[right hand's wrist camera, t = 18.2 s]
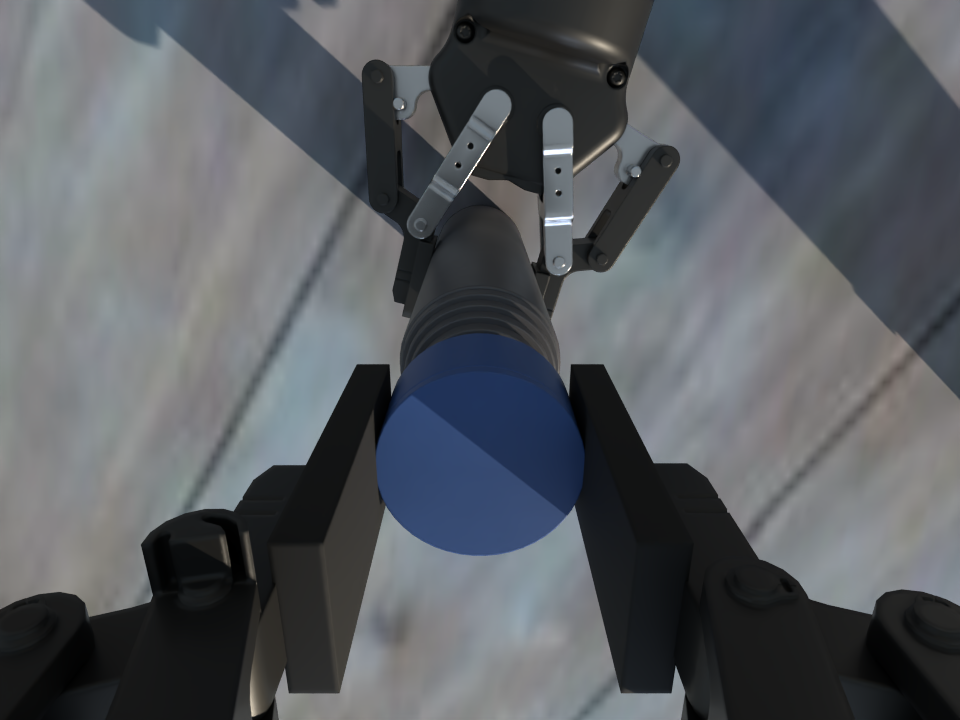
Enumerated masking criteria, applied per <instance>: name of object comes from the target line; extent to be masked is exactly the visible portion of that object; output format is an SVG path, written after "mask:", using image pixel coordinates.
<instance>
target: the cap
mask: <svg viewBox="0 0 960 720" xmlns="http://www.w3.org/2000/svg"><path fill="white" fill-rule="evenodd" d="M584 458H585V448H584V444H583V439H582V436H581V433H580V430H579V427H578V424H577V421H576V418H575V415H574V411H573V408H572V405H571V402H570V399H569V396H568V393H567V390H566V388H565V385H564V383H563V381H562V379H561V377H560V376H559V374H558V372H557V371H556V370H555V368H554V367H553V366H552V364H551V363H550V362H549V361H548V360H547V359H546V358H545V357H544V356H542V355H541V354H540V353H538V352H537V351H536V350H534V349H533V348H531V347H529V346H528V345H526V344H524V343H522V342H519V341H517V340H515V339H512V338H508V337H505V336H501V335H495V334H483V333H474V334H465V335H460V336H456V337H451V338H449V339H446V340H443V341H441V342H438V343H436V344H435V345H433V346H431V347H429V348H427V349H426V350H425V351H423V352H422V353H421V354H419V355H418V356H417V357H416V358H415V359H414V360H413V361H412V362H411V363H410V364H409V365H408V366H407V367H406V369H405V370H404V371H403V373H402V374H401V376H400V378H399V379H398V381H397V383H396V386H395V388H394V391H393V394H392V397H391V400H390V403H389V406H388V409H387V412H386V415H385V418H384V421H383V425H382V428H381V431H380V434H379V437H378V441H377V445H376V467H377V481H378V489H379V491H380V494H381V497H382V499H383V501H384V502H385V504H386V506H387V508H388V509H389V511H390V512H391V514H392V515H393V516H394V518H395V519H396V520H397V521H398V522H399V523H400V524H401V525H402V526H403V527H404V528H405V529H406V530H408V531H409V532H410V533H411V534H412V535H414V536H416V537H417V538H419V539H420V540H422V541H424V542H426V543H428V544H430V545H432V546H434V547H436V548H439V549H442V550H445V551H448V552H453V553H457V554H463V555H471V556H488V555H498V554H503V553H508V552H512V551H515V550H518V549H521V548H524V547H526V546H528V545H531V544H533V543H535V542H537V541H538V540H540V539H542V538H543V537H545V536H546V535H548V534H549V533H550V532H551V531H553V530H554V529H555V528H556V527H557V526H558V525H559V524H560V523H561V522H562V521H563V520H564V519H565V518H566V517H567V515H568V514H569V513H570V511H571V510H572V508H573V507H574V505H575V503H576V501H577V499H578V497H579V495H580V492H581V490H582V486H583V473H584Z"/></svg>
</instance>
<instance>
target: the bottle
mask: <svg viewBox="0 0 960 720" xmlns="http://www.w3.org/2000/svg"><path fill="white" fill-rule="evenodd" d="M474 333H483V334H495V335H501V336H505V337H508V338H512V339H515V340H517V341H519V342H522V343H524V344H526V345H528V346H529V347H531V348H533V349H534V350H536V351H537V352H538V353H540V354H541V355H542V356H544V357H545V358H546V359H547V360H548V361H549V362H550V363H551V364H552V366H553V367H554V368H555V370H556V371H557V372H558V374H559V372H560V350H559V344H558V340H557V337H556V334H555V331H554V328H553V326H552V323H551V320H550V317H549V314H548V312H547V309H546V306H545V303H544V300H543V297H542V295H541V292H540V289H539V286H538V283H537V281H536V278H535V275H534V272H533V269H532V266H531V264H530V261H529V258H528V255H527V252H526V250H525V247H524V244H523V241H522V238H521V236H520V233H519V230H518V228H517V226H516V225H515V223H514V222H513V221H512V220H511V218H510V217H508V216H507V215H506V214H505V213H503V212H502V211H500V210H498V209H496V208H493V207H489V206H482V205H478V206H471V207H467V208H464V209H462V210H460V211H458V212H457V213H455V214H454V215H453V216H452V217H451V218H450V219H449V220H448V221H447V222H446V224H445V225H444V227H443V229H442V231H441V233H440V236H439V239H438V242H437V244H436V247H435V250H434V253H433V256H432V258H431V261H430V264H429V267H428V270H427V273H426V275H425V278H424V281H423V284H422V287H421V289H420V292H419V295H418V298H417V301H416V304H415V306H414V309H413V312H412V315H411V318H410V320H409V323H408V326H407V329H406V332H405V335H404V338H403V341H402V345H401V351H400V371H401V374H402V373H403V371H404V370H405V369H406V367H407V366H408V365H409V364H410V363H411V362H412V361H413V360H414V359H415V358H416V357H417V356H418V355H419V354H421V353H422V352H423V351H425V350H426V349H427V348H429V347H431V346H433V345H435V344H436V343H438V342H441V341H443V340H446V339H449V338H451V337H456V336H460V335H465V334H474Z"/></svg>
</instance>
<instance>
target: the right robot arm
mask: <svg viewBox="0 0 960 720" xmlns="http://www.w3.org/2000/svg"><path fill="white" fill-rule="evenodd" d="M569 399H570V402H571V405H572V408H573V411H574V415H575V418H576V421H577V424H578V427H579V430H580V433H581V436H582V439H583V444H584V448H585V458H584V473H583V486H582V490H581V492H580V495H579V497H578V499H577V501H576V503H575V508H576V512H577V516H578V520H579V524H580V529H581V533H582V537H583V541H584V545H585V549H586V553H587V557H588V561H589V565H590V569H591V573H592V577H593V581H594V585H595V590H596V594H597V598H598V602H599V606H600V610H601V614H602V618H603V622H604V626H605V630H606V634H607V638H608V642H609V646H610V651H611V655H612V659H613V663H614V667H615V671H616V675H617V679H618V683H619V687H620V691H621V693H672V686H673V679H674V673H675V666H676V667H677V670H678V673H679V675H680V678H681V681H682V684H683V687H684V689H685V698H684V705H683V711H682V717H681V720H960V606H958V605H956V604H954V603H952V602H950V601H948V600H947V599H944V598H941V597H938V596H934V595H931V594H928V593H925V592H920V591H911V590H896V591H891V592H885V593H884V594H883V595H882V596H881V597H880V598H879V599H878V600H876V604H875V607H874V611H873V614H872V615H871V614H866V613H862V612H858V611H853V610H849V609H844V608H840V607H835V606H831V605H827V604H823V603H820V602H816V601H813V600H810V599H809V598H808V596H807V594H806V592H805V591H804V589H803V588H802V586H801V585H800V583H799V582H798V581H797V580H796V579H794V578H793V577H792V576H791V575H789V574H788V573H787V572H786V571H784V570H783V569H781V568H779V567H777V566H775V565H772V564H770V563H768V562H766V561H763V560H759V559H758V557H757V555H756V554H755V552H754V551H753V549H752V548H751V546H750V544H749V543H748V541H747V540H746V538H745V537H744V535H743V533H742V532H741V530H740V529H739V527H738V526H737V524H736V522H735V521H734V519H733V518H732V516H731V515H730V513H727V508H726V507H725V505H724V504H723V502H722V501H721V499H720V498H718V494H717V493H716V491H715V490H714V488H713V486H712V485H711V483H710V482H709V480H708V479H707V478H706V477H705V476H704V475H702V474H701V473H700V472H698V471H697V470H695V469H694V468H693V467H691V466H690V465H688V464H687V463H653V461H652V459H651V457H650V455H649V453H648V451H647V449H646V447H645V445H644V444H643V442H642V440H641V438H640V436H639V434H638V432H637V430H636V428H635V426H634V424H633V422H632V420H631V418H630V416H629V414H628V412H627V410H626V408H625V406H624V404H623V402H622V400H621V398H620V396H619V394H618V392H617V390H616V388H615V386H614V384H613V382H612V380H611V378H610V376H609V374H608V372H607V370H606V369H605V367H604V365H603V364H571V373H570V390H569ZM390 400H391V383H390V365H389V364H357V365H356V367H355V369H354V371H353V373H352V375H351V377H350V379H349V381H348V383H347V385H346V387H345V389H344V391H343V393H342V395H341V397H340V399H339V401H338V403H337V405H336V407H335V409H334V411H333V413H332V415H331V417H330V419H329V421H328V423H327V425H326V427H325V429H324V431H323V433H322V434H321V436H320V438H319V440H318V442H317V444H316V446H315V448H314V450H313V452H312V454H311V456H310V458H309V460H308V462H307V464H306V465H273V466H272V467H271V468H269V469H268V470H267V471H265V472H264V473H262V474H261V475H260V476H258V477H257V478H256V479H254V480H253V482H252V483H251V485H250V486H249V488H248V490H247V491H246V493H245V494H244V496H243V500H241V501H240V502H239V504H238V505H237V507H236V509H235V510H234V512H233V511H229V510H226V509H203V510H199V511H194V512H189V513H185V514H183V515H180V516H178V517H175V518H173V519H171V520H168V521H166V522H165V523H163V524H162V525H160V526H159V527H157V528H156V529H154V530H153V531H152V532H150V534H149V535H148V536H147V537H146V539H145V540H144V541H143V543H142V544H141V547H142V551H143V555H144V560H145V564H146V568H147V572H148V576H149V581H150V585H151V589H152V593H153V597H152V599H151V602H149V603H146V604H142V605H139V606H136V607H132V608H128V609H123V610H119V611H114V612H110V613H105V614H101V615H96V616H92V617H89V616H88V612H87V609H86V605H85V603H84V602H83V601H82V600H81V599H80V598H79V597H77V596H76V595H73V594H68V593H62V592H55V593H46V594H38V595H35V596H32V597H29V598H25V599H22V600H19V601H16V602H14V603H12V604H10V605H8V606H6V607H4V608H2V609H0V720H279V718H278V711H277V705H276V698H275V694H276V691H277V688H278V685H279V682H280V680H281V677H282V674H283V671H284V668H285V670H286V677H287V683H288V690H289V693H340V689H341V685H342V681H343V677H344V673H345V668H346V664H347V660H348V656H349V652H350V648H351V644H352V640H353V636H354V632H355V628H356V624H357V620H358V616H359V611H360V607H361V603H362V599H363V595H364V591H365V587H366V583H367V579H368V575H369V571H370V567H371V563H372V559H373V555H374V550H375V546H376V542H377V538H378V534H379V530H380V526H381V522H382V518H383V514H384V510H385V506H386V504H385V502H384V501H383V499H382V497H381V494H380V491H379V489H378V481H377V467H376V445H377V441H378V437H379V434H380V431H381V428H382V425H383V421H384V418H385V415H386V412H387V409H388V406H389V403H390Z"/></svg>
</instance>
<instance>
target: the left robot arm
mask: <svg viewBox="0 0 960 720" xmlns="http://www.w3.org/2000/svg"><path fill="white" fill-rule="evenodd" d="M653 2H654V0H458V2H457V6H456V11H455V15H454V20H453V24H452V29H451V32H450V35H449V38H448V40H447V42H446V44H445V45H444V47H443V48H442V50H441V51H440V52H439V53H438V54H437V55H436V56H435V58H434V59H433V61H432V63H431V65H430V66H391V65H388V64H386V63H385V62H383V61H381V60H371V61H369V62H368V63H367V64H366V65H365V66H364V68H363V70H362V87H363V104H364V121H365V137H366V154H367V171H368V188H369V201H370V204H371V206H372V208H373V209H374V210H376V211H377V212H379V213H384V214H385V215H387V216H388V217H390V218H391V219H393V220H394V221H396V222H397V223H398V224H399V225H400V226H401V228H402V230H403V233H404V241H403V246H402V250H401V255H400V259H399V264H398V268H397V273H396V278H395V282H394V286H393V296H394V302H398V303H402V304H405V305H404V310H403V314H402V316H403V317H407V318H411V315H412V312H413V309H414V306H415V304H416V301H417V298H418V295H419V292H420V289H421V287H422V284H423V281H424V278H425V275H426V273H427V270H428V267H429V264H430V261H431V258H432V256H433V253H434V250H435V246H436V242H437V238H438V236H435V235H434V233H435V229H436V226H437V225H438V223H439V222H440V220H441V219H442V217H443V216H444V214H445V212H446V211H447V209H448V208H449V206H450V205H451V203H452V202H453V200H454V199H455V197H456V196H457V194H458V193H459V191H460V190H461V188H462V187H463V185H464V184H465V182H466V180H467V179H468V177H469V176H470V174H471V175H473V176H476V177H480V178H483V179H487V180H509V181H510V182H512V183H514V184H515V185H517V186H519V187H520V188H522V189H524V190H526V191H530V192H534V193H537V194H538V212H539V225H540V254H539V258H538V261H537V263H535V262H532V264H531V266H532V269H533V272H534V275H535V278H536V281H537V283H538V286H539V289H540V292H541V295H542V297H543V300H544V303H545V306H546V309H547V312H548V314H549V317H550V320H551V318H552V315H553V311H554V309H555V305H556V302H557V299H558V296H559V293H560V290H561V287H562V284H563V281H564V280H565V278H566V277H567V276H568V275H569V274H571V273H573V272H576V271H584V270H594V271H596V272H606V271H608V270H609V269H611V268H612V266H613V265H614V263H615V262H616V260H617V259H618V257H619V256H620V254H621V253H622V251H623V250H624V248H625V247H626V245H627V244H628V242H629V241H630V239H631V238H632V236H633V235H634V233H635V232H636V230H637V229H638V227H639V225H640V224H641V222H642V221H643V219H644V218H645V216H646V215H647V213H648V212H649V210H650V209H651V207H652V206H653V204H654V203H655V201H656V200H657V198H658V197H659V195H660V194H661V192H662V191H663V189H664V187H665V186H666V184H667V183H668V181H669V180H670V178H671V177H672V175H673V174H674V172H675V171H676V169H677V168H678V166H679V163H680V155H679V153H678V151H677V150H676V149H675V148H674V147H672V146H668V145H665V144H658V143H657V142H655V141H654V140H652V139H650V138H649V137H647V136H646V135H644V134H643V133H641V132H640V131H638V130H636V129H635V128H633V127H632V126H630V125H629V124H627V122H628V113H627V107H626V88H627V84H628V80H629V77H630V74H631V71H632V68H633V65H634V61H635V58H636V55H637V52H638V49H639V46H640V43H641V40H642V37H643V33H644V30H645V27H646V24H647V21H648V18H649V15H650V12H651V9H652V6H653ZM427 91H431V93H432V95H433V98H434V101H435V103H436V106H437V108H438V111H439V114H440V116H441V119H442V122H443V124H444V127H445V130H446V132H447V135H448V138H449V140H450V143H451V146H452V148H451V150H450V151H449V153H448V155H447V156H446V158H445V159H444V161H443V163H442V164H441V166H440V168H439V169H438V171H437V172H436V174H435V176H434V177H433V179H432V180H431V182H430V184H429V186H428V187H427V189H426V190H425V192H424V194H423V195H422V197H421V198H420V199H419V198H417V197H416V196H414V195H413V194H412V193H410V192H409V191H407V190H406V189H404V184H403V159H402V134H401V120H406V119H409V118H411V117H412V116H413V115H414V114H415V112H416V109H417V102H418V99H419V97H420V96H421V95H422V94H423V93H425V92H427ZM613 145H614V146H615V147H616V149H617V152H618V158H617V161H616V164H615V166H614V174H615V176H616V178H617V179H618V180H619V181H620V183H619V184H618V186H617V188H616V189H615V191H614V192H613V194H612V195H611V197H610V199H609V200H608V202H607V203H606V205H605V207H604V208H603V210H602V211H601V213H600V215H599V216H598V218H597V219H596V221H595V222H594V224H593V226H592V227H591V229H590V230H589V232H588V234H587V235H586V237H585V238H579V239H572V221H573V177H574V176H576V175H577V174H578V173H579V172H581V171H582V170H583V169H584V168H586V167H587V166H588V165H589V164H590V163H592V162H593V161H594V160H595V159H597V158H598V157H599V156H600V155H602V154H603V153H604V152H605V151H607V150H608V149H609V148H610V147H612V146H613Z"/></svg>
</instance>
